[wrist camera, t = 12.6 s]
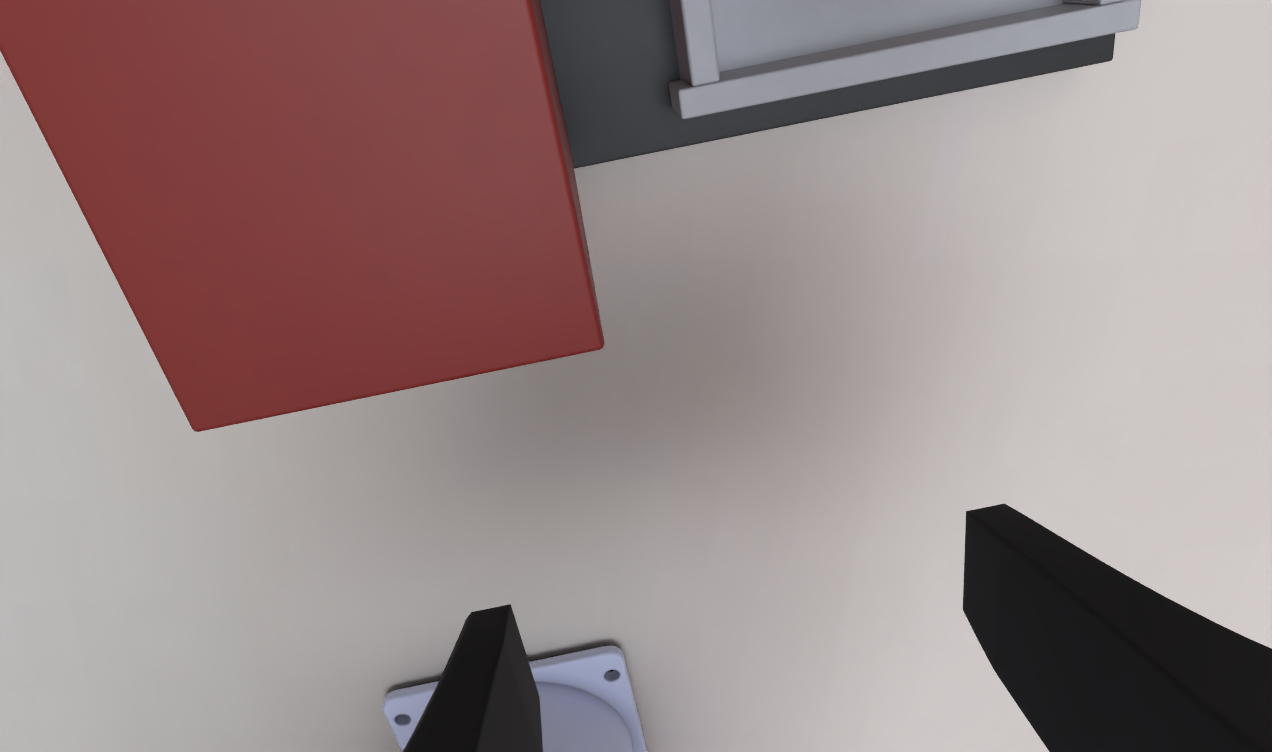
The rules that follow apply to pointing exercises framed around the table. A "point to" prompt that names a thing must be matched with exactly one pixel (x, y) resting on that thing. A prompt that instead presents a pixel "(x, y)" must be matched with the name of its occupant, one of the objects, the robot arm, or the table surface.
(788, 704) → the table surface
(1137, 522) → the table surface
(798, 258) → the table surface
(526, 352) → the coffee maker
